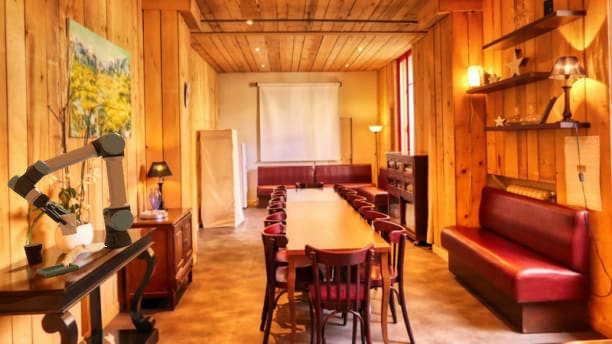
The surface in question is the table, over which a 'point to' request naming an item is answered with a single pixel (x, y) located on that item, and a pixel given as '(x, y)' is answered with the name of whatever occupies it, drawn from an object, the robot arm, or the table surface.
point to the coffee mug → (34, 253)
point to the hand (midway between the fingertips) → (75, 226)
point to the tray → (57, 270)
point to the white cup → (72, 220)
